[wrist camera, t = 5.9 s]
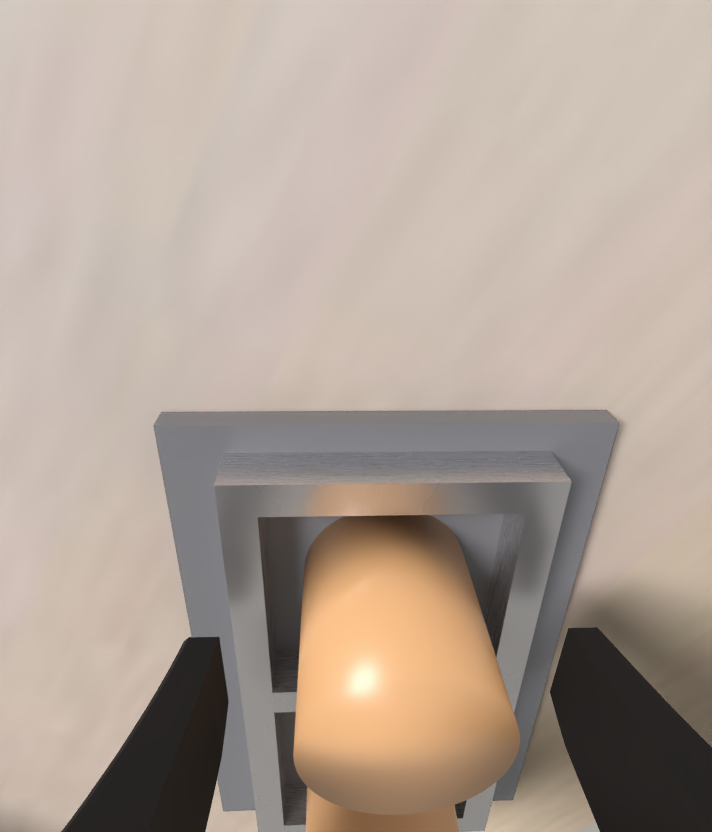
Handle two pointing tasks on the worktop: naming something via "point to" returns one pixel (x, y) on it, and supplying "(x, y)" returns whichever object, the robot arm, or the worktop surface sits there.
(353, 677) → the peach rounded capsule
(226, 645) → the frame
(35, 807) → the worktop surface
